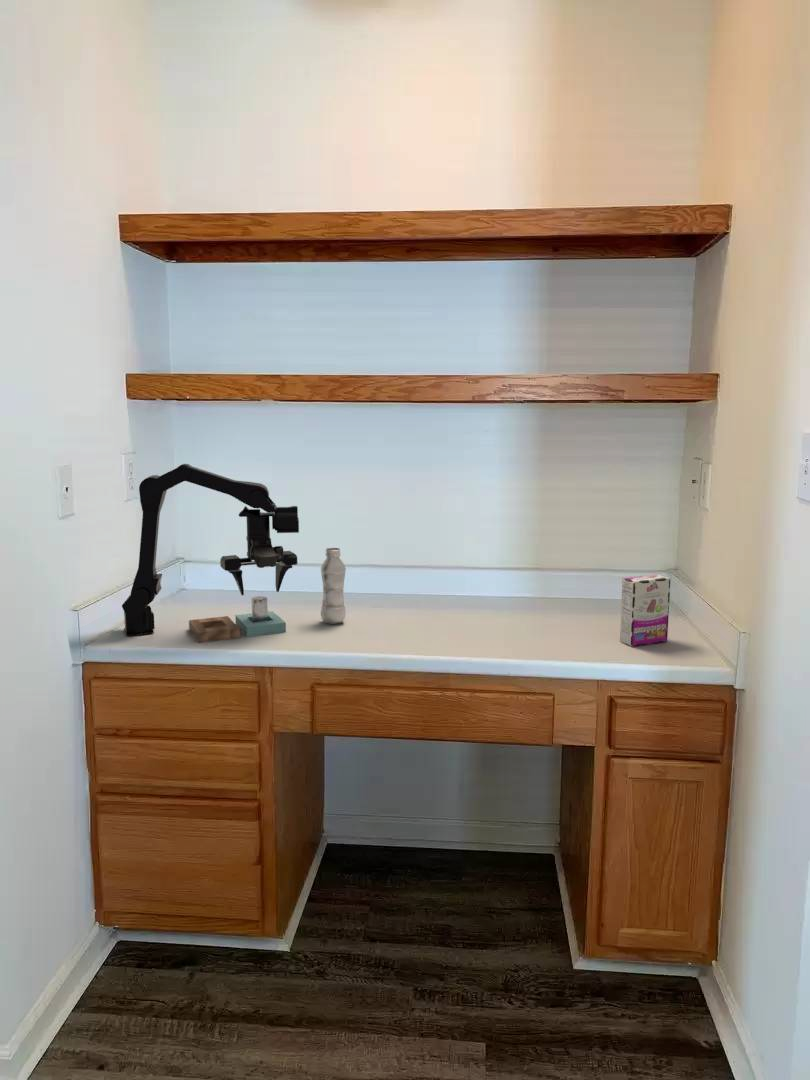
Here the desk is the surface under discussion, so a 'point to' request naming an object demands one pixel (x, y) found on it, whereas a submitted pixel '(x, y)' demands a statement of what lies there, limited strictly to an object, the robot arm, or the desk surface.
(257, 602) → the steel peg
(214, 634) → the socket block
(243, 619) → the block
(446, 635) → the desk surface
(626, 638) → the candy bar box
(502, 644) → the desk surface
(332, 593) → the plastic bottle
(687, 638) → the desk surface
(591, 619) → the desk surface
